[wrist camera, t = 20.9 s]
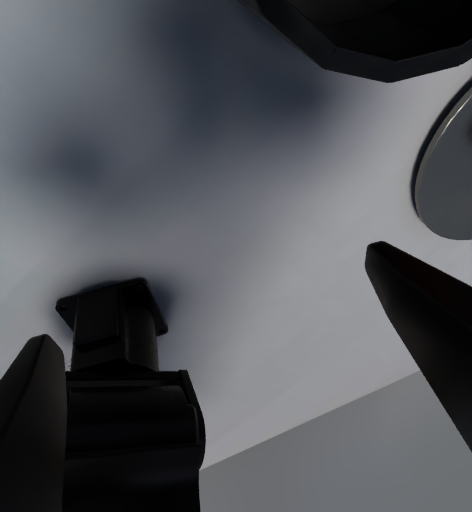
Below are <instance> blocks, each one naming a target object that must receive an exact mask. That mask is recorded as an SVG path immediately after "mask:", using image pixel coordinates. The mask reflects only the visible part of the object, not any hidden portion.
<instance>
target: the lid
mask: <svg viewBox="0 0 472 512" xmlns="http://www.w3.org/2000/svg"><path fill="white" fill-rule="evenodd" d="M415 203H416V209H417V212H418V214H419V217H420V218H421V220H422V221H423V223H424V224H425V225H426V226H427V227H428V228H429V229H430V230H431V231H432V232H434V233H435V234H437V235H439V236H441V237H445V238H448V239H454V240H471V239H472V87H471V88H470V89H469V90H468V91H467V93H466V94H465V95H464V96H463V97H462V98H461V99H460V100H459V101H458V103H457V104H456V105H455V106H454V108H453V109H452V110H451V111H450V113H449V114H448V115H447V117H446V118H445V119H444V121H443V122H442V124H441V125H440V127H439V129H438V130H437V132H436V133H435V135H434V137H433V138H432V140H431V142H430V144H429V146H428V148H427V150H426V152H425V155H424V157H423V159H422V162H421V164H420V168H419V171H418V175H417V179H416V185H415Z"/></svg>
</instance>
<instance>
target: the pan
mask: <svg viewBox="0 0 472 512" xmlns="http://www.w3.org/2000/svg"><path fill="white" fill-rule="evenodd" d="M239 1H240V2H241V3H242V4H244V5H245V6H246V7H247V8H248V9H249V10H251V11H252V12H253V13H254V14H255V15H256V16H258V17H259V18H260V19H261V20H262V21H263V22H264V23H266V24H267V25H268V26H269V27H270V28H271V29H273V30H274V31H275V32H276V33H278V34H279V35H280V36H281V37H283V38H284V39H285V40H287V41H288V42H289V43H290V44H292V45H293V46H294V47H295V48H297V49H298V50H299V51H301V52H302V53H303V54H304V55H306V56H307V57H308V58H310V59H311V60H312V61H313V62H315V63H316V64H317V65H319V66H320V67H321V68H323V69H325V70H329V71H334V72H339V73H343V74H348V75H353V76H357V77H362V78H366V79H371V80H376V81H380V82H385V83H392V82H396V81H400V80H404V79H408V78H412V77H416V76H420V75H424V74H428V73H432V72H436V71H440V70H444V69H448V68H452V67H456V66H459V65H462V64H464V63H465V62H467V61H468V60H470V59H471V58H472V0H239Z"/></svg>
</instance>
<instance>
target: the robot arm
mask: <svg viewBox="0 0 472 512" xmlns="http://www.w3.org/2000/svg"><path fill="white" fill-rule="evenodd" d="M365 270H366V272H367V275H368V277H369V279H370V281H371V283H372V285H373V287H374V289H375V292H376V294H377V296H378V298H379V300H380V302H381V304H382V306H383V309H384V311H385V313H386V315H387V317H388V318H389V320H390V322H391V323H392V325H393V327H394V328H395V330H396V331H397V333H398V335H399V336H400V338H401V339H402V341H403V343H404V344H405V346H406V347H407V349H408V351H409V352H410V354H411V355H412V357H413V359H414V360H415V362H416V363H417V365H418V367H419V368H420V370H421V371H422V373H423V375H424V376H425V378H426V380H427V381H428V382H429V384H430V386H431V388H432V389H433V391H434V392H435V394H436V396H437V397H438V398H439V400H440V402H441V404H442V405H443V407H444V408H445V410H446V412H447V413H448V415H449V416H450V418H451V419H452V421H453V423H454V424H455V426H456V428H457V429H458V431H459V432H460V434H461V436H462V437H463V439H464V440H465V442H466V444H467V445H468V447H469V448H470V450H471V452H472V287H471V286H469V285H468V284H466V283H464V282H462V281H460V280H458V279H456V278H454V277H452V276H450V275H448V274H446V273H444V272H442V271H441V270H439V269H437V268H435V267H433V266H431V265H429V264H427V263H425V262H423V261H421V260H419V259H417V258H415V257H414V256H412V255H410V254H408V253H406V252H404V251H402V250H400V249H398V248H396V247H394V246H392V245H390V244H388V243H386V242H384V241H378V242H375V243H371V244H369V245H368V246H367V251H366V258H365ZM138 285H142V286H138ZM63 306H65V307H63ZM55 309H56V311H57V312H58V313H59V315H60V316H61V317H62V318H63V320H64V321H65V322H66V323H67V325H68V326H69V327H70V328H71V330H72V331H73V332H74V335H73V349H72V358H71V368H70V371H65V362H64V354H63V351H62V350H61V348H60V347H59V346H58V345H57V344H56V343H55V341H54V340H53V339H52V338H51V337H50V336H49V335H47V334H42V335H39V336H35V337H32V338H30V339H29V340H28V342H27V343H26V344H25V346H24V347H23V349H22V350H21V351H20V353H19V354H18V356H17V357H16V359H15V360H14V361H13V363H12V364H11V366H10V367H9V369H8V370H7V371H6V373H5V374H4V376H3V377H2V379H1V380H0V512H200V500H199V469H200V467H201V465H202V463H203V459H204V454H205V444H206V434H205V424H204V418H203V415H202V411H201V408H200V406H199V403H198V400H197V397H196V394H195V391H194V389H193V386H192V383H191V380H190V377H189V374H188V371H187V370H178V371H159V361H158V350H157V339H156V336H160V335H163V334H166V333H167V332H168V326H167V324H166V322H165V319H164V317H163V315H162V313H161V311H160V309H159V307H158V305H157V303H156V301H155V299H154V296H153V294H152V292H151V290H150V288H149V286H148V284H147V282H146V281H145V280H144V279H135V280H132V281H128V282H124V283H121V284H117V285H113V286H110V287H106V288H102V289H99V290H95V291H91V292H88V293H84V294H80V295H77V296H73V297H69V298H66V299H62V300H59V301H58V302H57V303H56V308H55Z"/></svg>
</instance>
